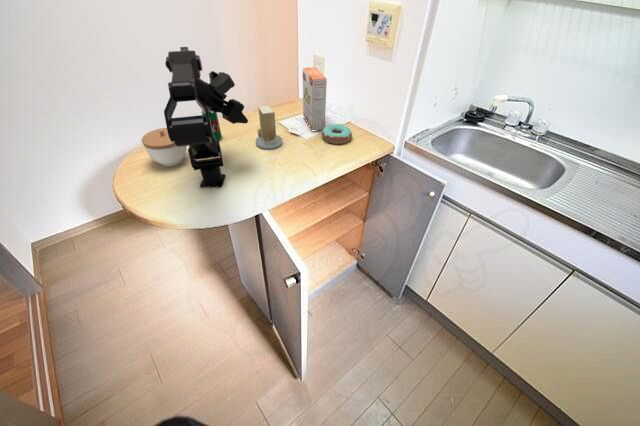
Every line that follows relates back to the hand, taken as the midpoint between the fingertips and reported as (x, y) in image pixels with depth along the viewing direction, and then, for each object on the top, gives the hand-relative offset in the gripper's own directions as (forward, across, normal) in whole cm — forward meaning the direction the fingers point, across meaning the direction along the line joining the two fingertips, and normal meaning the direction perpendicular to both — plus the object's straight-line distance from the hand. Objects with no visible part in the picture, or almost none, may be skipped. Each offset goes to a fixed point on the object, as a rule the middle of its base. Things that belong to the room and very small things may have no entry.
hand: (238, 117), depth 95 cm
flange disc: (+18, 0, +2) cm, 18 cm away
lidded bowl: (-5, +13, +24) cm, 28 cm away
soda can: (+9, +17, +11) cm, 22 cm away
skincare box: (+17, 0, +1) cm, 17 cm away
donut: (+33, -15, -14) cm, 39 cm away
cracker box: (+35, 0, -15) cm, 38 cm away
